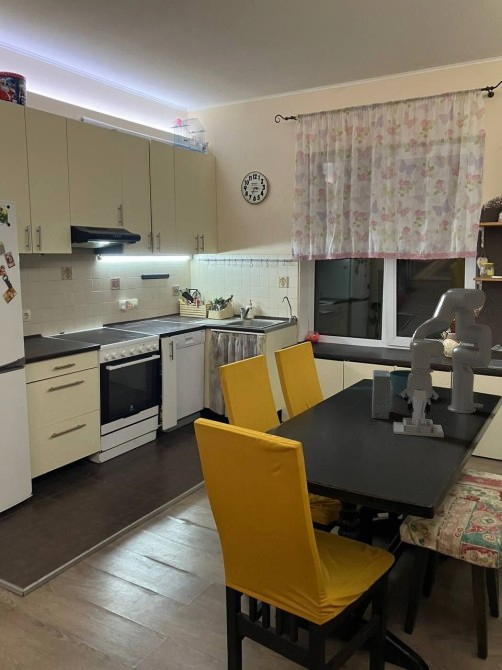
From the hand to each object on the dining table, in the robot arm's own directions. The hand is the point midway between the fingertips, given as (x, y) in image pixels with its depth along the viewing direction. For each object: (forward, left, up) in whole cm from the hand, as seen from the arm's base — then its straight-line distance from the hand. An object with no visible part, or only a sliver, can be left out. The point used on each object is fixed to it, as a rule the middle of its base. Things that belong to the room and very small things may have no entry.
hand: (418, 412), depth 237 cm
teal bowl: (+3, -61, -8) cm, 61 cm away
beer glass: (0, 0, -5) cm, 5 cm away
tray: (0, 0, -8) cm, 8 cm away
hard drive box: (+16, -21, -8) cm, 28 cm away
